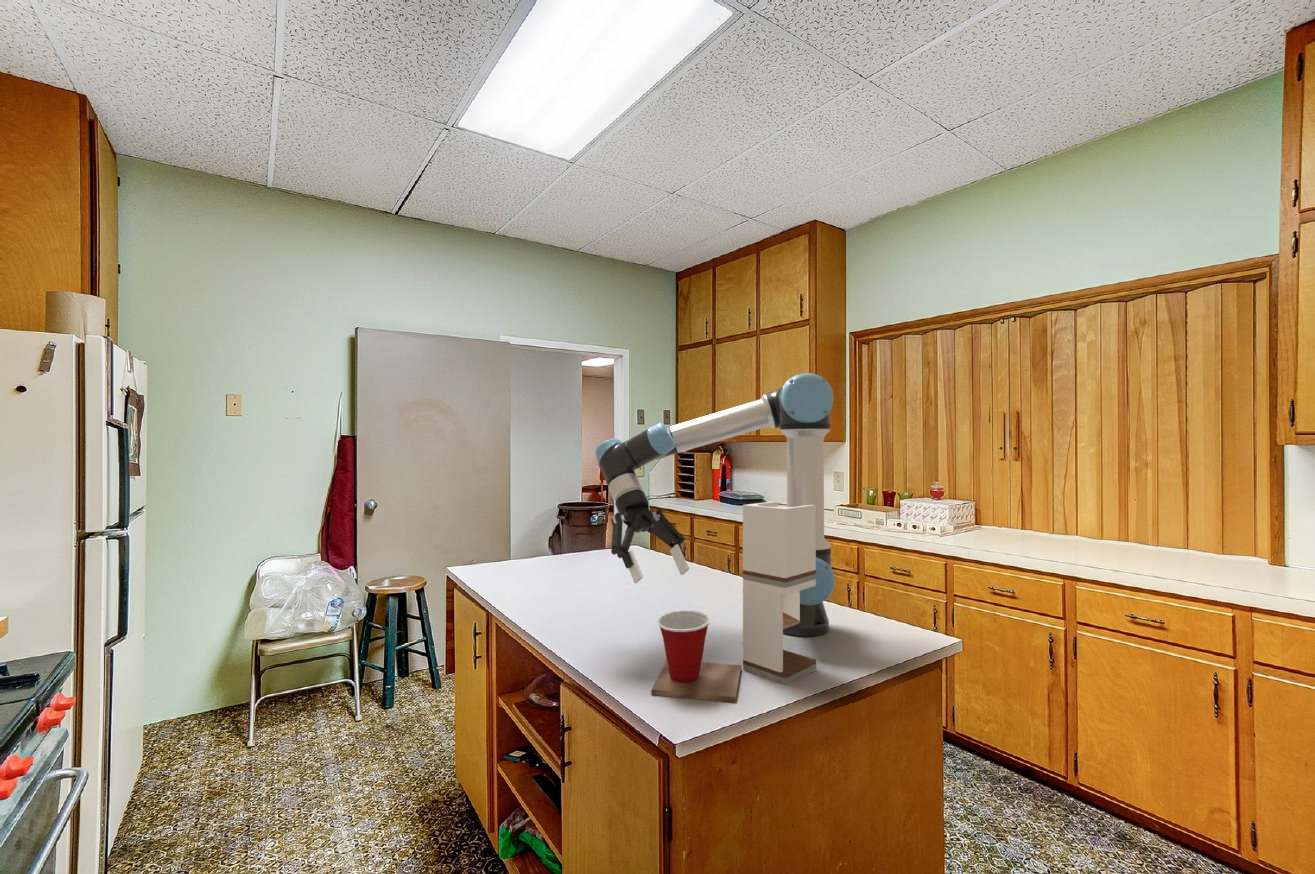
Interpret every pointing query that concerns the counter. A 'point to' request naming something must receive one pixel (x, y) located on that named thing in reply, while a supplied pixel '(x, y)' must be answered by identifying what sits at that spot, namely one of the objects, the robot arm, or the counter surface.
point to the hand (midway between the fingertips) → (662, 576)
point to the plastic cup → (684, 643)
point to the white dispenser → (776, 585)
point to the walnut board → (702, 683)
